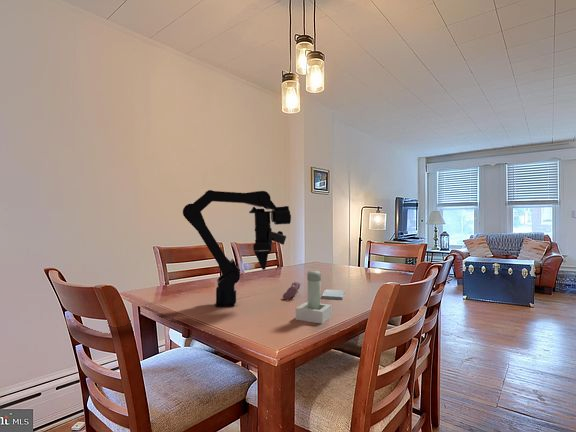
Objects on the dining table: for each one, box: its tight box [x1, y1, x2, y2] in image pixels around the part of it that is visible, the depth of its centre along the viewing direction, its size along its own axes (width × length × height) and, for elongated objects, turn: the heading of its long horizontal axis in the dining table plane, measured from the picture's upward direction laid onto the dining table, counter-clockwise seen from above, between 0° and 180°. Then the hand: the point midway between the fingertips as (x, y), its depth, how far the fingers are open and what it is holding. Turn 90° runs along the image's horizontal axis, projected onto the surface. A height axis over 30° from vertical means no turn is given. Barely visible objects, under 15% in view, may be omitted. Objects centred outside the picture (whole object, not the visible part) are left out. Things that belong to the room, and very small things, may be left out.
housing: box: [295, 301, 333, 325], centre depth 101 cm, size 9×9×4 cm
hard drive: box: [320, 288, 345, 301], centre depth 130 cm, size 2×8×12 cm
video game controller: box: [282, 281, 301, 300], centre depth 128 cm, size 10×5×7 cm, turn 170°
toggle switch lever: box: [306, 270, 322, 310], centre depth 101 cm, size 4×4×13 cm
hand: (264, 267), depth 119 cm, fingers open, 9 cm apart
